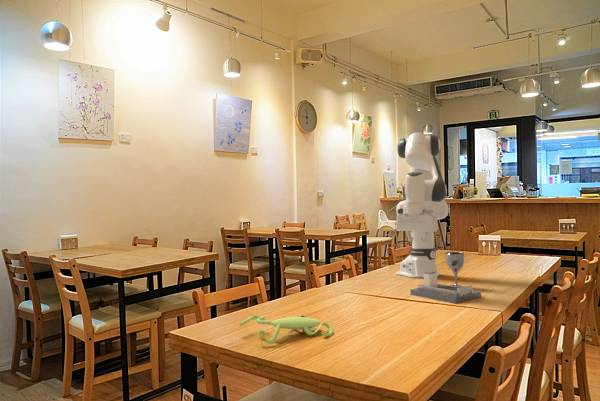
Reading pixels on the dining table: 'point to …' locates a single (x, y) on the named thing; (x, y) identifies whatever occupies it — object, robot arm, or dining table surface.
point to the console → (446, 293)
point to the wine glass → (455, 263)
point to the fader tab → (430, 279)
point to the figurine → (290, 325)
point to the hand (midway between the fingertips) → (417, 241)
